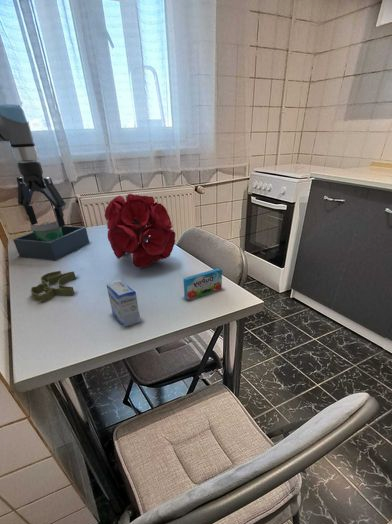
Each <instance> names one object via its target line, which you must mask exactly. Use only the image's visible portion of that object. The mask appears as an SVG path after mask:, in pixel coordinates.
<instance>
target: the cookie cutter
mask: <svg viewBox="0 0 392 524" xmlns="http://www.w3.org/2000/svg"><path fill="white" fill-rule="evenodd" d="M76 279H77V277H76V274H75V271H69V272H65V273H62V270H57V271H51V272H48V273H46V274H43V275H41V277H40V280H41V283H39V284H38V285H36V286H31V288H30V293H31V295H32V298H33V299H34V300H36V301H40V303H44V302H46V301H49V300H51V299H53V298H52V297H54V296H73V295H75V290H74V289H75V288H74V287H73V286H68V285H67V286H66V285H64V284H66V283H68V282H71V281H73V280H76ZM48 283H49V285H54V284H57V285H58V287H52V286H48ZM42 291H44V293H42V294H41V292H42Z"/></svg>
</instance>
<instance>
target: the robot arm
mask: <svg viewBox="0 0 392 524" xmlns="http://www.w3.org/2000/svg"><path fill="white" fill-rule="evenodd" d="M33 137H34V136H33V134H32V130H31V126H30V121H29V119H28V117H27V113H26V112H25V108H24V107H23V106H22V105H20V104H12V103H11V104H0V142H9V144H10V147H11V150H12V154H13V157H14V160H15V161H16V162H17V164H16V165H17V169H18V172H19V174H20V175H21V176H17V177H16V183H17V203H18V205H20V206H23V207H24V210H25V213H26V215H27V217H28V219H29V222H30V226H31V225H38V224H39V222H38V219H37V216H36V213H35V211H34V208H33V205H32V204H31V202H32V197H33V196H34V195H33V194H34V192H37V193H38V192H39V193H41V194H42V195H43V196H44V197H45V198H46V199H47V200H48V202H50V204H51V205H52V206H53V212H54V215H55V219H56V221H58V225H59V227H62V226H66V222H65V219H64V217H65V215H64V212H63V207H64V206H66V202H65V200H64V199H63V197H62V196H61V194H60V193H59V191H58V189H57V187H56V186H55V184H54V183H53V180H52V178H51V176H48V177H47V176H46V177H44V175H43V174H44V171H43V168H42V164H41V162H40V161H39V160H40V157H39V154H38V151H37V147H36V144H35V142H34V138H33Z"/></svg>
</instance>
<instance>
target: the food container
mask: <svg viewBox="0 0 392 524" xmlns="http://www.w3.org/2000/svg"><path fill="white" fill-rule="evenodd" d="M30 231H32V232H34V233H35V236H36V238H37V240H38V241H44V242H51V241H53V240H55V239H58V238H60V237H62V236H63V234H62V229H61V227H59V225H58V221H57V220H55V221H52V222H51V221H50V222H48V221H47V222H43V223H41V224H34V225H31V224H30Z"/></svg>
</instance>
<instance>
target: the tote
mask: <svg viewBox="0 0 392 524" xmlns="http://www.w3.org/2000/svg"><path fill="white" fill-rule="evenodd" d="M61 229H62V234H63V236H62V237H60V238H58V239H55V240H53V241H51V242H44V241H38V240H37V238H36V236H35V233H34V231H32V232H29V233H27V234H24V235H21V236H19V237H16V238H13V239H12V241H13V243H14V246H15V249H16V251H17V253H18V256H19V257H21V258H30V259H39V260H40V259H41V260H49V261H57V260H59V259H61V258H63V257H65V256H68V255H69V254H71V253H72V252H75V251H77V250H79V249H81V248H83V247H84V246H87V245H88V244H90V238H89V235H88V231H87V228H86V226H74V225H65V226H62V227H61Z"/></svg>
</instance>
